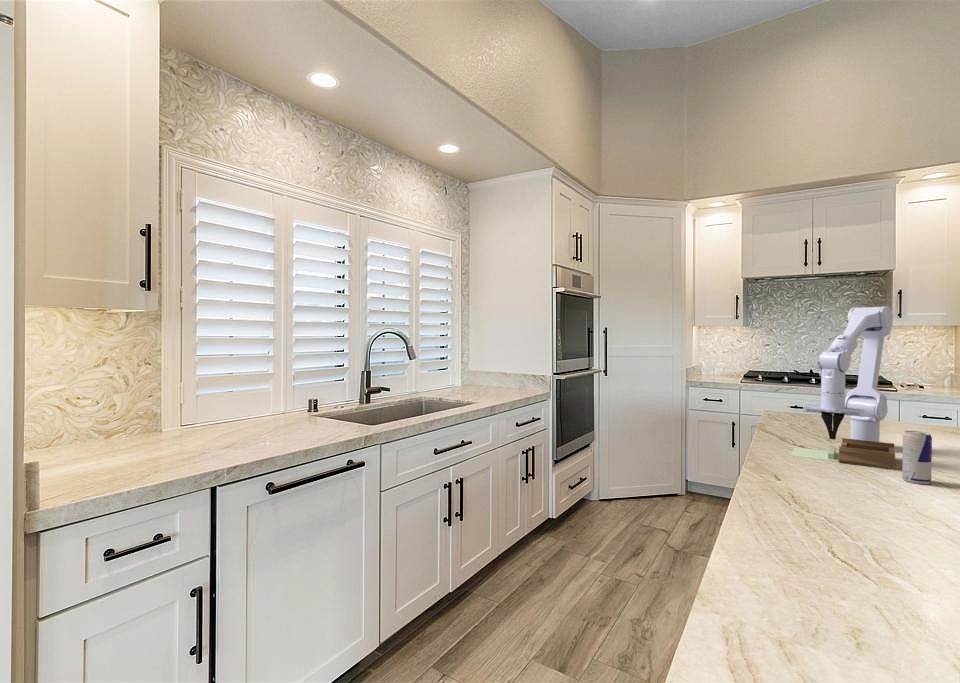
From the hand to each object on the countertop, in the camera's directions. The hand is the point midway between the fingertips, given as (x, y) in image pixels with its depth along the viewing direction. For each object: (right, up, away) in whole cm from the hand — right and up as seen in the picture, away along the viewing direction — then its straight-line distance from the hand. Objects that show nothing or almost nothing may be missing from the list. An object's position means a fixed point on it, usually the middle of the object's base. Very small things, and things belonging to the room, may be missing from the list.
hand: (832, 438), depth 146 cm
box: (+6, -5, -5) cm, 10 cm away
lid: (-3, -6, +3) cm, 7 cm away
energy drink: (+4, -6, -24) cm, 25 cm away
